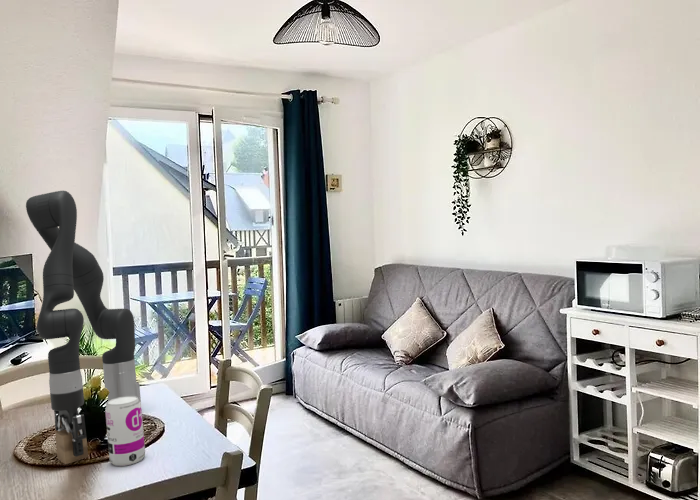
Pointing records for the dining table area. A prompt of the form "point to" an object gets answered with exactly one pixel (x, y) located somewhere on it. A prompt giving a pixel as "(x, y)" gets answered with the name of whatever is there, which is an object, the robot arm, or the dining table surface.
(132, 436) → the supplement can
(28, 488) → the dining table surface
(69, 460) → the beige wooden block
